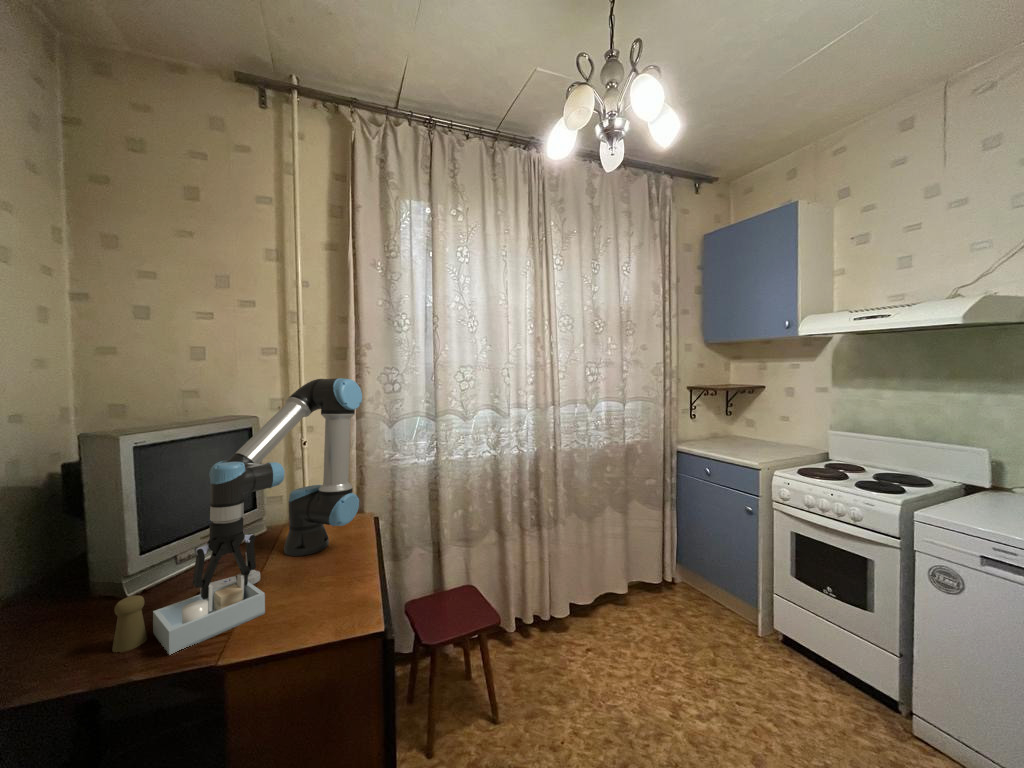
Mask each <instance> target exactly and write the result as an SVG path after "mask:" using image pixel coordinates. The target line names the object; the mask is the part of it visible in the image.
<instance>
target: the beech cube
mask: <svg viewBox="0 0 1024 768" xmlns="http://www.w3.org/2000/svg"><path fill="white" fill-rule="evenodd" d="M240 601H242V589H241V588H240V587H238V586H237V585H236V584H234V585H232V586H229V587H226V588H223V589H221V590H218V591H215V592H214V610H215V611H217V610H220V609H222V608H225V607H227V606H230V605H232V604H235V603H237V602H240Z"/></svg>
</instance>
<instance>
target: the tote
mask: <svg viewBox="0 0 1024 768" xmlns="http://www.w3.org/2000/svg"><path fill="white" fill-rule="evenodd" d="M234 584H236V585H237V581H236V582H233V583H230V584H227V585H225V586H222V587H219V588H216V589H213V593H212V611H210V612H208V614H207V615H205V616H202V617H200V618H197V619H195V620H192V621H190V622H187V623H185V624H182V608H183V607H184V606H186V605H187V604H189V603H192V602H195V601H199V600H203V599H202V598H201V594H200V593H199V594H198V595H197V594H196V595H195V596H192V597H189V598H186V599H184V600H180V601H178V602H175V603H172V604H169V605H166V606H163V607H162V608H158V609H156V610H152V632H153V633H152V634H153V635H154V636H155V638H156V639H157V641H158V642H159V643H161V644H160V646H161V647H162V648H163V647H164V648H163V649H164V651H165V650H166V651H167V652H166V651H165V652H166V653H167V655H168V654H169V655H171V654H173V653H175V652H177V651H179V650H181V649H184V648H186V647H189V646H191V647H193V646H195V645H197V643H198V644H199V643H202V642H204V641H206V640H209V639H211V638H214V637H216V636H218V635H220V634H222V633H225V632H227V631H229V630H231V629H234V628H236V627H239V626H241V625H242V624H246V623H247V622H250V621H252V620H254V619H256V618H258V617H261V616H263V615H265V614H266V593H265V592H264V591H262V590H261V589H259V587H256V586H255V584H251V583H250V582H248V583H247V585H245V586H244V599H242V601H240V602H237V603H235V604H232V605H230V606H227V607H225V608H222V609H220V610H217V611H215V610H214V592H215V591H218V590H221V589H223V588H226V587H229V586H232V585H234ZM194 644H195V645H194ZM192 645H193V646H192ZM189 648H190V647H189ZM186 649H187V648H186ZM184 650H185V649H184ZM177 653H178V652H177ZM175 654H176V653H175ZM169 655H168V656H169ZM173 655H174V654H173ZM171 656H172V655H171Z"/></svg>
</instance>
